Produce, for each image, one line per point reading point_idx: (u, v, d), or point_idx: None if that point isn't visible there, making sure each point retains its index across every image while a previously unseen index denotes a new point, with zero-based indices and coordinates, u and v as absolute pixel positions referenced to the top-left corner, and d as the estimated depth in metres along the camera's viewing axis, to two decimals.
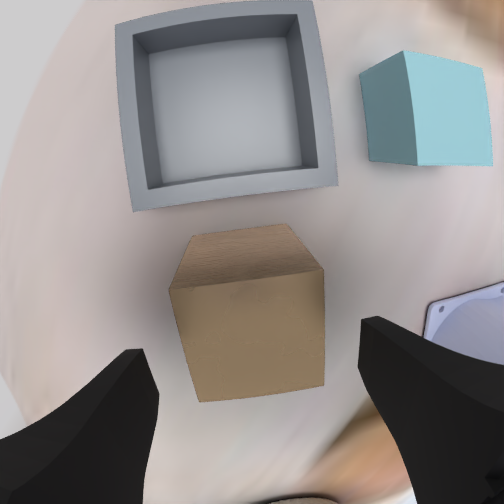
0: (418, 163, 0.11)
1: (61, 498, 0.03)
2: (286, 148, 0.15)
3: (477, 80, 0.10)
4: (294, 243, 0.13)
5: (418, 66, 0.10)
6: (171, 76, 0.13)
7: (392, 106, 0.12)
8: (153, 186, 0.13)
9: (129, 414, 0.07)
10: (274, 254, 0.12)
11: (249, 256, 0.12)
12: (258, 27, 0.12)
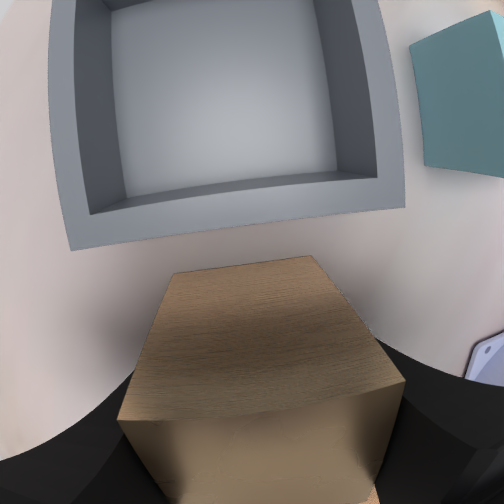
0: None
1: None
2: (314, 143, 0.10)
3: None
4: (335, 303, 0.08)
5: None
6: (141, 38, 0.08)
7: (470, 88, 0.07)
8: (104, 206, 0.08)
9: None
10: (306, 333, 0.07)
11: (263, 335, 0.07)
12: None
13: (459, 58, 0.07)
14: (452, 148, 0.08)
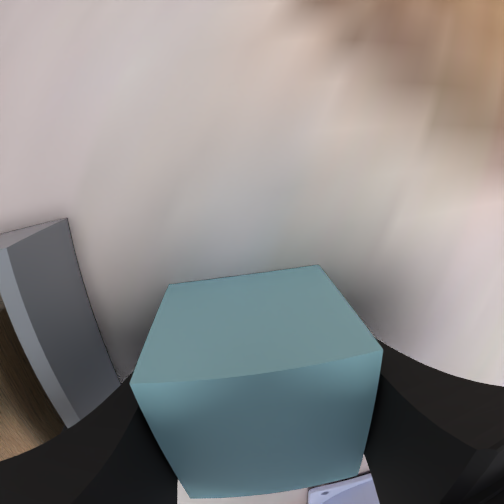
0: (191, 496, 0.07)
1: None
2: None
3: (353, 383, 0.06)
4: None
5: (169, 406, 0.06)
6: None
7: None
8: None
9: None
10: None
11: None
12: None
13: None
14: None
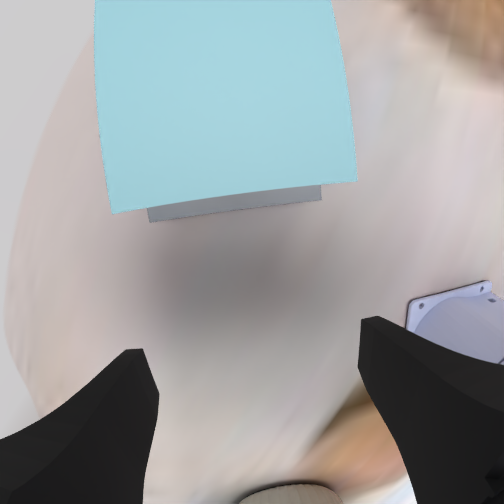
0: (114, 209, 0.06)
1: (61, 498, 0.03)
2: None
3: None
4: None
5: (122, 12, 0.05)
6: None
7: None
8: None
9: (129, 414, 0.07)
10: None
11: None
12: None
13: None
14: None
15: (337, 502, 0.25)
